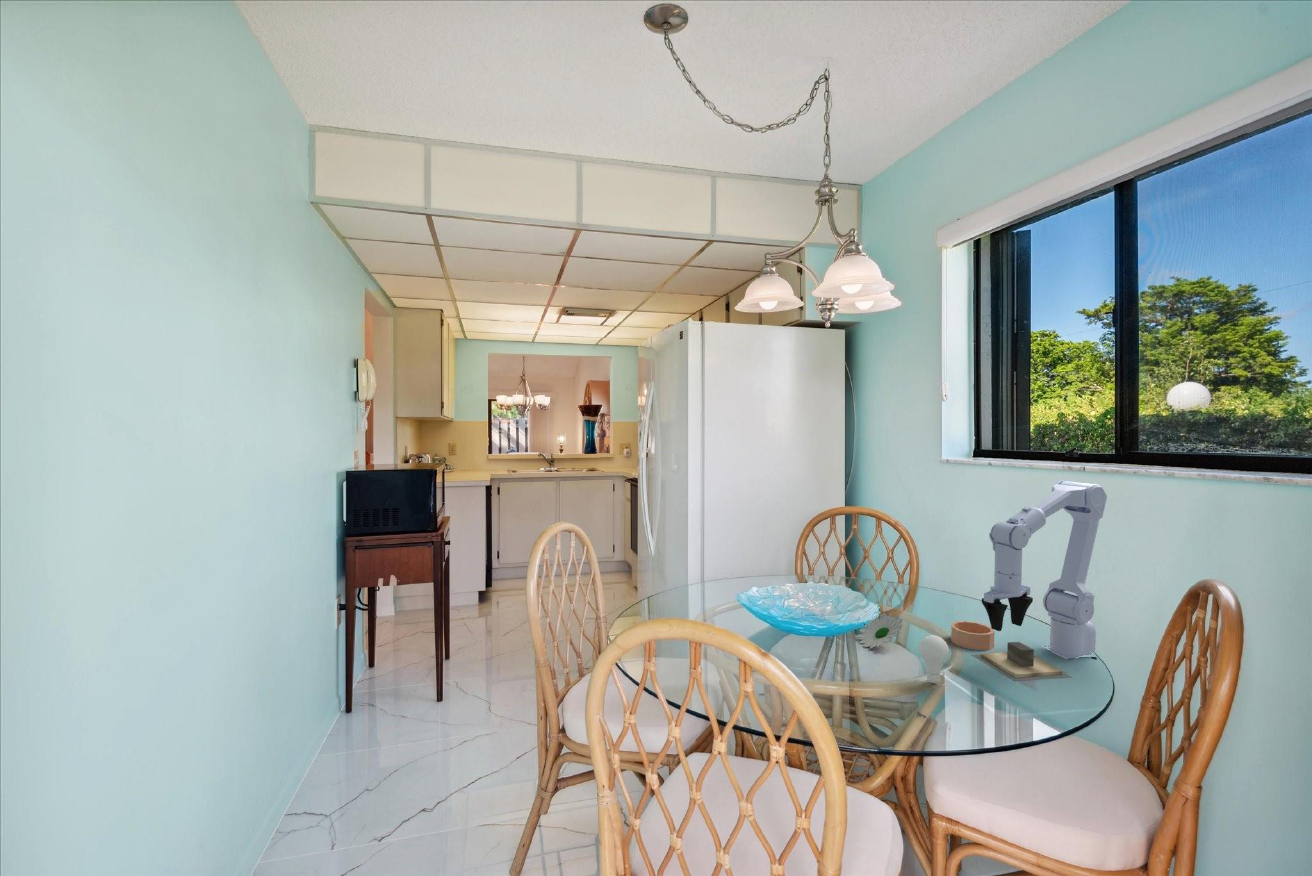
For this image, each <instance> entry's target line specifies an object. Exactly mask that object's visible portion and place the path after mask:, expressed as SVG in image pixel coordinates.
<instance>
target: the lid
mask: <svg viewBox="0 0 1312 876" xmlns="http://www.w3.org/2000/svg"><path fill="white" fill-rule="evenodd" d="M980 654H981V657H982V658H983V659H985V660H987V661H988V662H990V663H992V664H993V665H995V666H997V667H998V668H1000V669H1002V670H1003V671H1005V672H1007V673H1008V674H1010V675H1012V676H1013V677H1015V678H1020V677H1035V676H1050V675H1062V672H1063V670H1060V669H1058V668H1057V667H1055V666H1053V665H1051V664H1050V663H1047V662H1045V661H1043V660H1041V659H1040V658H1038V657H1036V656H1035V649H1034V648H1031V647H1030V646H1027V645H1026V644H1024V643H1022V642H1020V641H1012V642H1011V641H1010V642H1009V641H1008V642H1007V652H1006V651H1005V652H1004V651H1003V652H990V653H980Z"/></svg>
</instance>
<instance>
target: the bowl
mask: <svg viewBox="0 0 1312 876" xmlns="http://www.w3.org/2000/svg"><path fill="white" fill-rule="evenodd" d="M950 641H951V643H953V644H955V645H956V646H957V647H962V648H964V649H968V650H974V651H975V650H976V651H989V650H991V649H993V648H995V630H994V629H992V628H991V626H988V625H987V624H983V623H979V622H975V621H969V620H968V621H967V620H960V621H959V620H958V621H957V620H956V621H953V622H952V623H950Z"/></svg>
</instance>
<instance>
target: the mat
mask: <svg viewBox="0 0 1312 876" xmlns="http://www.w3.org/2000/svg"><path fill="white" fill-rule="evenodd" d="M981 654H982V653H980V654H978V653H977V654H971V656H972V657H974V658H976V659H977V660H979V661H980V662H982V663H984V664H985V665H987V666H989V667H990V668H992V669H994V670H995V671H997V672H998V673H1000V674H1002V675H1004V676H1005V677H1006V678H1008V679H1010V680H1011V681H1013V682H1025V681H1037V680H1038V681H1039V680H1051V679H1054V680H1055V679H1068V678H1073V676H1072V675H1070V674H1068V673H1066V672H1064V671H1062V675H1050V676H1035V677H1020V678H1015V677H1013V676H1012V675H1010V674H1008V673H1007V672H1005V671H1003V670H1002V669H1000V668H998V667H997V666H995V665H993V664H992V663H990V662H988V661H987V660H985V659H983V658H982V657H981Z"/></svg>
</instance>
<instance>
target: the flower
mask: <svg viewBox="0 0 1312 876" xmlns="http://www.w3.org/2000/svg"><path fill="white" fill-rule="evenodd" d="M875 617H876V616H875ZM879 617H880V618H879ZM879 617H876V618H875V619H874V620H873V619H872V621H869V622H870V623H868V624H866V625H864V626H865V628H861V629H858V630H859V632H861V634H858V635H856V639H858V640H860V641H859V642H857V644H859V645H860V644H862V646H861V648H869V649H870V650H872V648H875V647H876V648H881V647H882V646H883V645H884V644H888V643H889V642H891V641H892V640H893V638H895V637H896V636H898V632H899V631H900V630H901V629H902V627H903V624H902V621H903V619H902V618H900V614H898V613H896V614H893V612H889V613H888V615H887V614H886V612H883V613H880V614H879Z"/></svg>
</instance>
